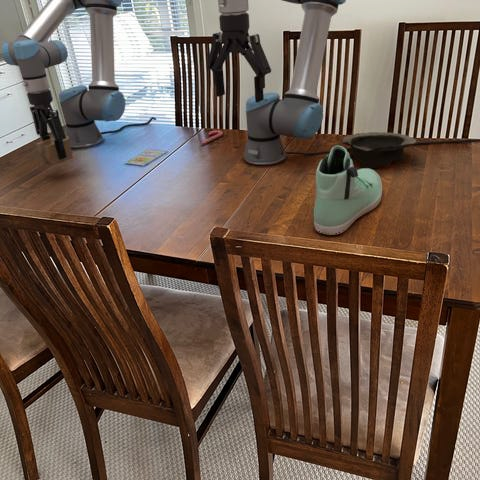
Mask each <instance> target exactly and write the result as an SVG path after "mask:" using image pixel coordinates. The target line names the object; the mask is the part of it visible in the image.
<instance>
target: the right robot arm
mask: <svg viewBox="0 0 480 480" xmlns="http://www.w3.org/2000/svg"><path fill="white" fill-rule="evenodd" d="M281 1H283V2H286V3H291V4H295V5H301V6H300V8H301V9H302V10H303V12H304V16H303V21H302V26H301V32H300V37H299V40H298V41H299V42H298V47H297V51H296V52H297V53H296V58H295V63H294V68H293V73H292V77H291V78H292V79H291V84H290V88H289V90H287V91H286V92H285V93H284V96H283V99H280V98H281V97H280V94H279V93H278V92H264V89H266V75H268V74H271V73H272V67H271V65H270V63H269V61H268V58H267V56H266V54H265V51H264V48H263V47H262V44H261V38H260V34H259V33H256V34H255V33H254V34H252V35H250V33H249V30H250V14H249V13H248V11H249V10H250V9H249V8H250V7H249V0H217V7H218V13H219V14H220V15H219V16H218V21H219V30H220V31H219V32H215V33H212V36H211V37H212V39H211V40H212V42H211V47H210V51H209V55H208V58H207V62H206V69H207V70H211V72H212V77H213V82H214V84H215V92H216V97H218V98H219V97H222V96H225V95H226V91H225V77H224V70H222V67H223V65H224V63H226V60H227V58H228V56H229V55H230V54H233V53H235V54H240V55H241V56H243V57H244V59H245V61H246V62H247V63H248V65H249V66H250V68H251V69H252V71H253V72H254V74H255V76H254V77H253V83H254V95H253V96H251V97H249V98H247V99H246V102H245V117H246V131H247V142H246V146H245V150H244V153H243V161H244V163H246V164H247V165H250V166H252V167H258V168H259V167H260V168H266V167H274V166H277V165H280V164H282V163H284V162H285V161H286V159H287V155H300V156H311V155H313V156H314V155H321V154H322V155H323V154H330V152H331V150H323V151H316V152H298V151H296V152H295V151H286V150H285V147H284V144H283V141H282V139H281V136H283V137H284V136H285V137H288V138H289V137H290V138H295V139H303V140H307V139H311V138H313V137H314V136H315V135H316V134H317V133H318V131H319V130H320V128H321V125H322V123H323V119H324V108H323V106H322V104H320V98H319V96H318V95H317V92H318V91H317V90H318V85H319V80H320V77H321V76H320V75H321V71H322V65H323V61H324V55H325V51H326V46H327V40H328V35H329V31H330V25H331V20H332V17H333V16H334V15H336V14H337V13H338V9H339V6H340V5H343V4H346V1H347V0H281ZM222 43H223V45H222ZM416 142H417V143H415V144H414V145H431V144H449V143H450V144H451V143H468V142H480V138H476V139H475V138H473V139H456V140H455V139H454V140H436V141H420V142H419V141H416ZM345 149H346V150H347V151H351V147H348V148H345Z"/></svg>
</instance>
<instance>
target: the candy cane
mask: <svg viewBox="0 0 480 480" xmlns="http://www.w3.org/2000/svg"><path fill="white" fill-rule="evenodd" d="M212 135H213V136H212ZM223 135H224V133H223V131H222V130H212V131H209V132H208V136H210V137H209V138H207V139H205V140H203V141H201V142H200V145H201V146H205V145H206V144H208V143H210V142H212V141H214V140H217V139H218V138H220V137H222V136H223Z"/></svg>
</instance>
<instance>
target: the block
mask: <svg viewBox="0 0 480 480" xmlns="http://www.w3.org/2000/svg"><path fill="white" fill-rule="evenodd" d="M54 141H55V139H54V136H52V137H50V139H47V140H44V141H43V140H42V141H39V142H38V141H37V142H36V144H35V145H36V148H37V152H38V155H39V158H40V161H41V163H42V164H46V165H48V166H51V167H54V166H57V165H59V164H62V163H64V162H68V161H70V160H72V159H74V155H73V153H72V149H71V148H70V144H69V140H68V139H63V144H64V148H65V152H66V156H67V157H66V158H63V159H61V160H60V159H59V157H58V154H57V150H56V146H55V143H54Z"/></svg>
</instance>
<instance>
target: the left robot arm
mask: <svg viewBox="0 0 480 480" xmlns="http://www.w3.org/2000/svg"><path fill="white" fill-rule="evenodd" d="M123 1H124V0H48V1H47V2H46V3H45V5H43V7H42V8H41V9H40V11H39V12H37V14H36V15H35V16H34V18H33V19H32V20H31V21H30V23H29V24H28V25H27V26H26V27H25V28H24V30H22V32H21V33H20V34H19V35H18V37H17V38H16V39H15V40H14V41H9V42H5V43H3V44H2V46H1V49H0V54H1V58H2V59H3V61H4V62H5V63H6V64H7V65H9V66H16V67H18V69H19V72H20V75H21V78H22V82H23V86H24V88H25V92H27V93H26V96H27V100H28V102H29V103H28V104H29V105H32V106H30V107H29V110H30V113H31V115H32V121H33V125H34V128H35V132H36V135H38V136H39V137H40V138H41V140H42V141H44V140H47V139H50V138H51V136H50V133H49V132H48V130H50V132H51V134H52V137H54V139H55V141H54V143H55V146H56V150H57V154H58V157H59V159H60V160H61V159H63V158H66V157H67V156H66V152H65V148H64V144H63V139H68V140H69V144H70V148H71V150H85V149H92V148H94V147H97V146H99V145H102V143H104V135H107V134H117V133H119V132H121V131H123V129H125V128H130V127H142V126H143V127H144V126H147V125H149V124H151V122H152V121H153V120H154V121H157V118H156V117H154V116H152V117H150V119H149V120H148V121H146V122H143V123H130V124H125V125H122V126H121V127H120V128H117V129H116V130H106V131H101V130H100V129H99V127H98V125H97V124H96V122H116V121H118V120H120V119H121V118H122V116H123V115H124V113H125V110H126V98H125V97H124V96H125V95H124V93H123V92H121V91H120V86H119V85H118V84H117V83H116V78H115V77H116V76H115V75H116V74H115V44H114V43H115V41H114V39H115V37H114V36H115V35H114V17H115V16H116V15H117V13H118V7H119V6H121V5H122V4H123ZM81 8H85V9H84V10H85V12H87V14H88V15H89V29H90V30H89V31H90V32H89V33H90V56H91V82H90V83H89V84H88V87H87V86H86V85H76V86H73V87H69V88H66V89H63V90H61V91H60V92H59V93H58V100H59V105H60V108H61V113H62V116H63V119H64V123H65V126H66V133H65V131H64V126H63V125H62V121H61V119H60V114H59V110H58V109H53V107H52V104H51V103H52V102H53V101H54V98H53V94H52V91H51V89H50V83H49V79H48V75H47V71H46V69H47V68H51V67H54V66H59V65H60V64H63V63H64V62H66V61H67V60H68V57H69V55H68V54H69V52H68V49H67V46H66V45H65V44H64V43H63V42H62V41H61V40H58V39H53V40H49V39H50V37H52V35H53V34H54V32H56V30H57V29H58V27H59V26H60V25H61V24H62V22H64V20H65V19H66V17H67V16H68V15H72V14H73V13H74V12H75V11H77V10H78V9H81ZM48 40H49V41H48ZM48 128H49V129H48Z"/></svg>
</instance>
